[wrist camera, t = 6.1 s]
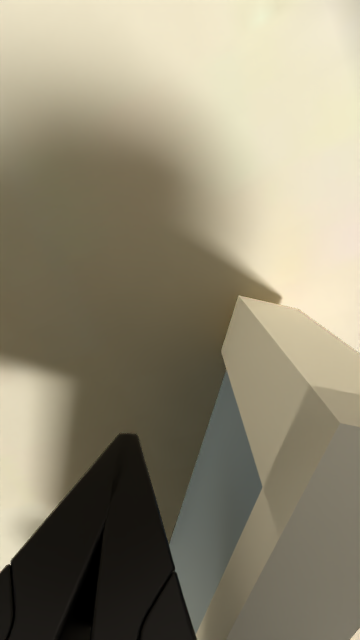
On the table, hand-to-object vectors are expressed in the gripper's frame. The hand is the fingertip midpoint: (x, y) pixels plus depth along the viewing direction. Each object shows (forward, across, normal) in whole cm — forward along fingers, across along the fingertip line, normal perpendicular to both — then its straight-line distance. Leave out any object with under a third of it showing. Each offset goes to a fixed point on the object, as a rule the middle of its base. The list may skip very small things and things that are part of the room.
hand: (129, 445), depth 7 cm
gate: (+2, -3, +2) cm, 4 cm away
